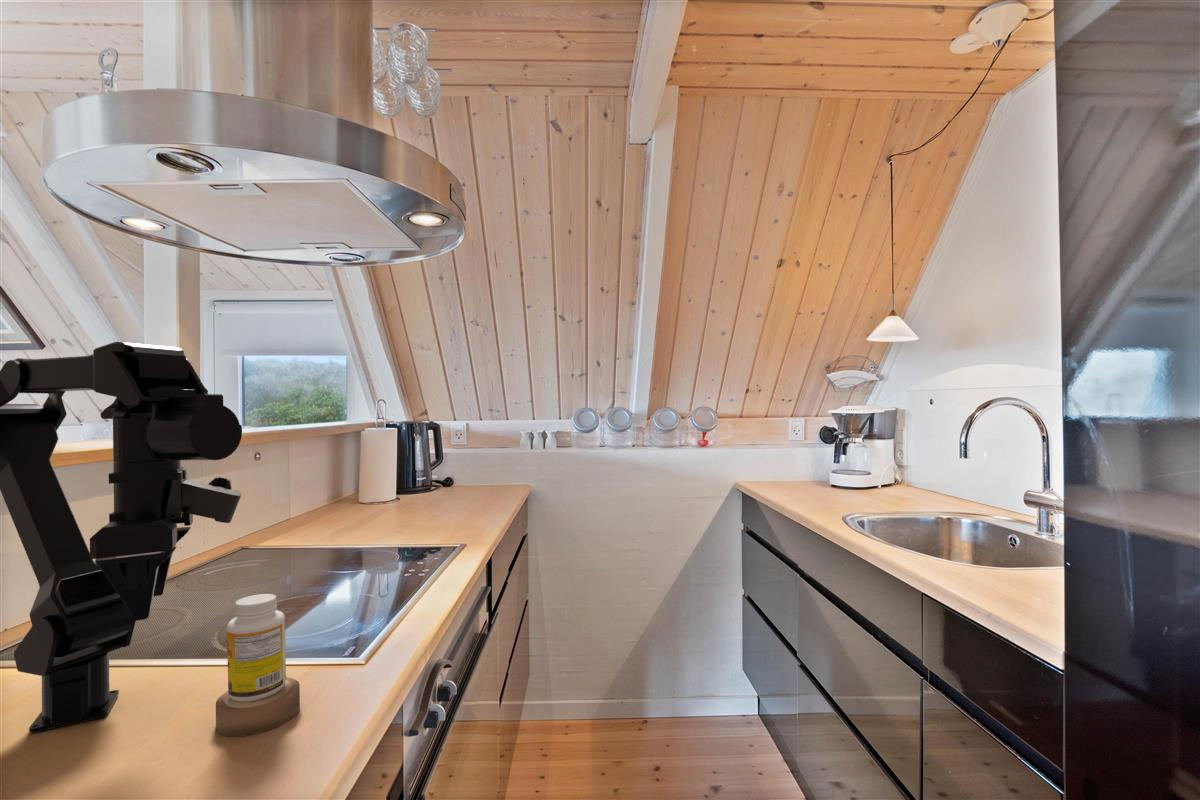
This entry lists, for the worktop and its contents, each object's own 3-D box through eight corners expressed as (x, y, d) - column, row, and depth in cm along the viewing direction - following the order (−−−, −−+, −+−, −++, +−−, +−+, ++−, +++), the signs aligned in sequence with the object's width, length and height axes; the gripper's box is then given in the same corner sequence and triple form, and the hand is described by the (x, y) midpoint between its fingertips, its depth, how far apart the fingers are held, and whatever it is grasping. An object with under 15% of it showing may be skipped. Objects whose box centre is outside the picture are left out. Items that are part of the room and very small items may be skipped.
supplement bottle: (244, 681, 67) (243, 592, 68) (294, 678, 68) (293, 590, 68) (216, 706, 62) (215, 608, 62) (271, 702, 62) (270, 606, 62)
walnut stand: (218, 710, 66) (218, 686, 66) (298, 692, 70) (298, 669, 70) (212, 744, 59) (212, 718, 59) (301, 722, 63) (301, 697, 63)
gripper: (231, 460, 59) (234, 617, 58) (239, 452, 75) (241, 574, 75) (87, 468, 53) (89, 641, 53) (129, 457, 70) (131, 590, 69)
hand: (149, 606), depth 63 cm, fingers open, 9 cm apart
